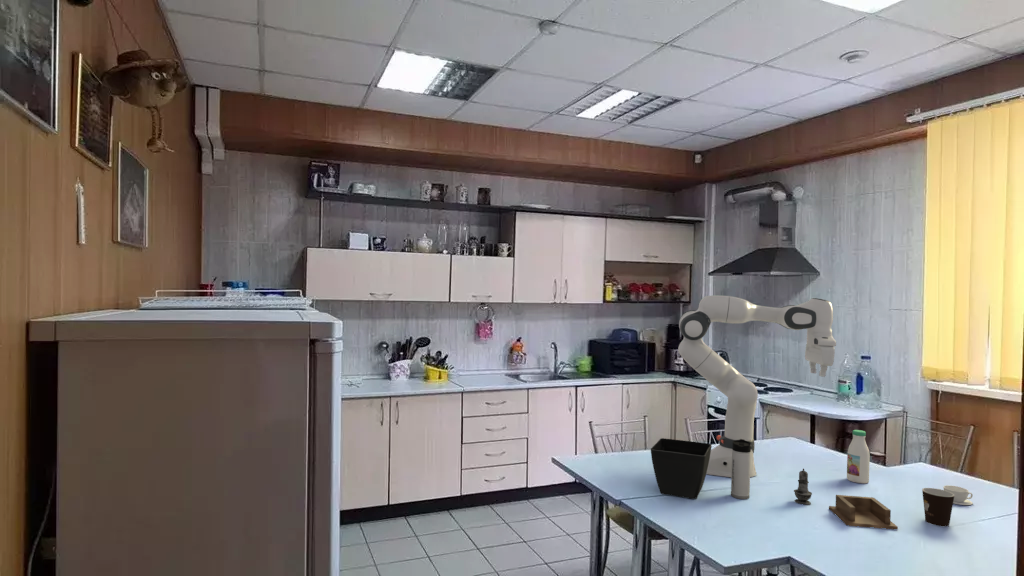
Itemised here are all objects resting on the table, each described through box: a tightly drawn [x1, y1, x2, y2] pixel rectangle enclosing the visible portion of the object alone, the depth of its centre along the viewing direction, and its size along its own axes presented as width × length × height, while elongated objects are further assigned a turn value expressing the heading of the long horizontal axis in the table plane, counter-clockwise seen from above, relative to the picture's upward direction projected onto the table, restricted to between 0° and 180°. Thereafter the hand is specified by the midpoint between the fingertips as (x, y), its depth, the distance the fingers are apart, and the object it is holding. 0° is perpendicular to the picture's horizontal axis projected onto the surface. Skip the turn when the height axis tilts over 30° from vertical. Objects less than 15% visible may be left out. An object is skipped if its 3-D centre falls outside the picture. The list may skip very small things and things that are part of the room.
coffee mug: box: [921, 487, 954, 528], centre depth 198 cm, size 12×9×10 cm
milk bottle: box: [846, 429, 871, 484], centre depth 239 cm, size 8×8×20 cm
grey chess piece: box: [793, 468, 813, 506], centre depth 212 cm, size 6×6×12 cm
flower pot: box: [650, 437, 713, 500], centre depth 219 cm, size 19×19×17 cm
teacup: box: [942, 484, 974, 506], centre depth 219 cm, size 10×10×5 cm
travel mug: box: [730, 439, 751, 500], centre depth 216 cm, size 6×7×20 cm
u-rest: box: [828, 494, 899, 530], centre depth 198 cm, size 15×15×6 cm
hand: (817, 374), depth 236 cm, fingers open, 8 cm apart
